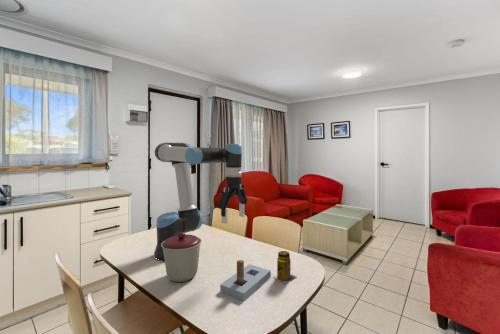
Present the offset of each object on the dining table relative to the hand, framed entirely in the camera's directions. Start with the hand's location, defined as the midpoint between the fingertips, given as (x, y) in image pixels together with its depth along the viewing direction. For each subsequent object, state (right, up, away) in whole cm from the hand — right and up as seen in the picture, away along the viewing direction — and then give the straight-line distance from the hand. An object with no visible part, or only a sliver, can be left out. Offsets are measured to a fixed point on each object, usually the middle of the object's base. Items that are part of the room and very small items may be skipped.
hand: (233, 219), depth 119 cm
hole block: (+7, -26, -11) cm, 29 cm away
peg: (+4, -26, -15) cm, 30 cm away
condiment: (+24, -26, -6) cm, 36 cm away
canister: (-24, -26, -4) cm, 35 cm away
